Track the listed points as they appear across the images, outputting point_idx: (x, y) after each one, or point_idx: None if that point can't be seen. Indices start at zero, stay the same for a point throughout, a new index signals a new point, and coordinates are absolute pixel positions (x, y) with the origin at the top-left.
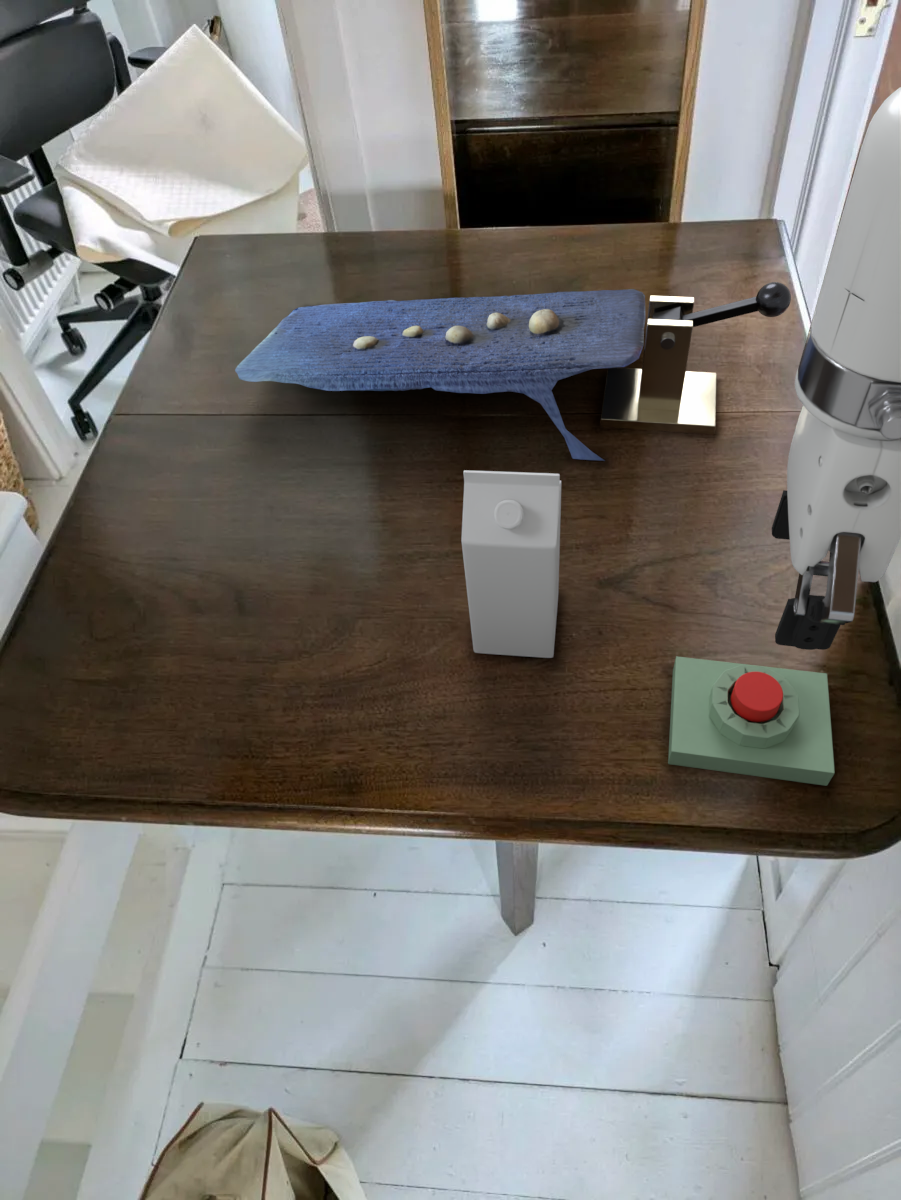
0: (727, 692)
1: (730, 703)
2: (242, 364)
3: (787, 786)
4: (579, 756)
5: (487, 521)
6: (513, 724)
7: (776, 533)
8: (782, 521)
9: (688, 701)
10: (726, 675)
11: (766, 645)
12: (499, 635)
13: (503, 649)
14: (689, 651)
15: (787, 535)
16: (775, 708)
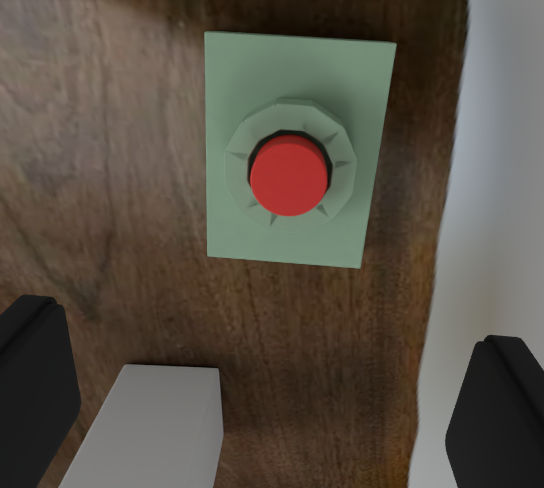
0: None
1: None
2: None
3: (388, 101)
4: (347, 340)
5: None
6: (310, 398)
7: (70, 419)
8: (40, 466)
9: (281, 244)
10: (248, 211)
11: (147, 109)
12: (215, 446)
13: (220, 420)
14: (179, 217)
15: (68, 392)
16: (319, 157)
